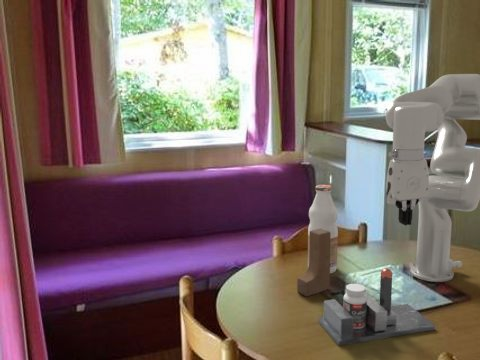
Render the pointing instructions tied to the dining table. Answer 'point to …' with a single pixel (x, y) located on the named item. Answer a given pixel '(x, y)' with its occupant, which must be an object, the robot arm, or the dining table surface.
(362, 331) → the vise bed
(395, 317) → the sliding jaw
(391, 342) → the dining table surface
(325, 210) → the fruit juice
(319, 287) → the wooden block
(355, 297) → the pill bottle
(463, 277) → the dining table surface
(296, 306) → the dining table surface
